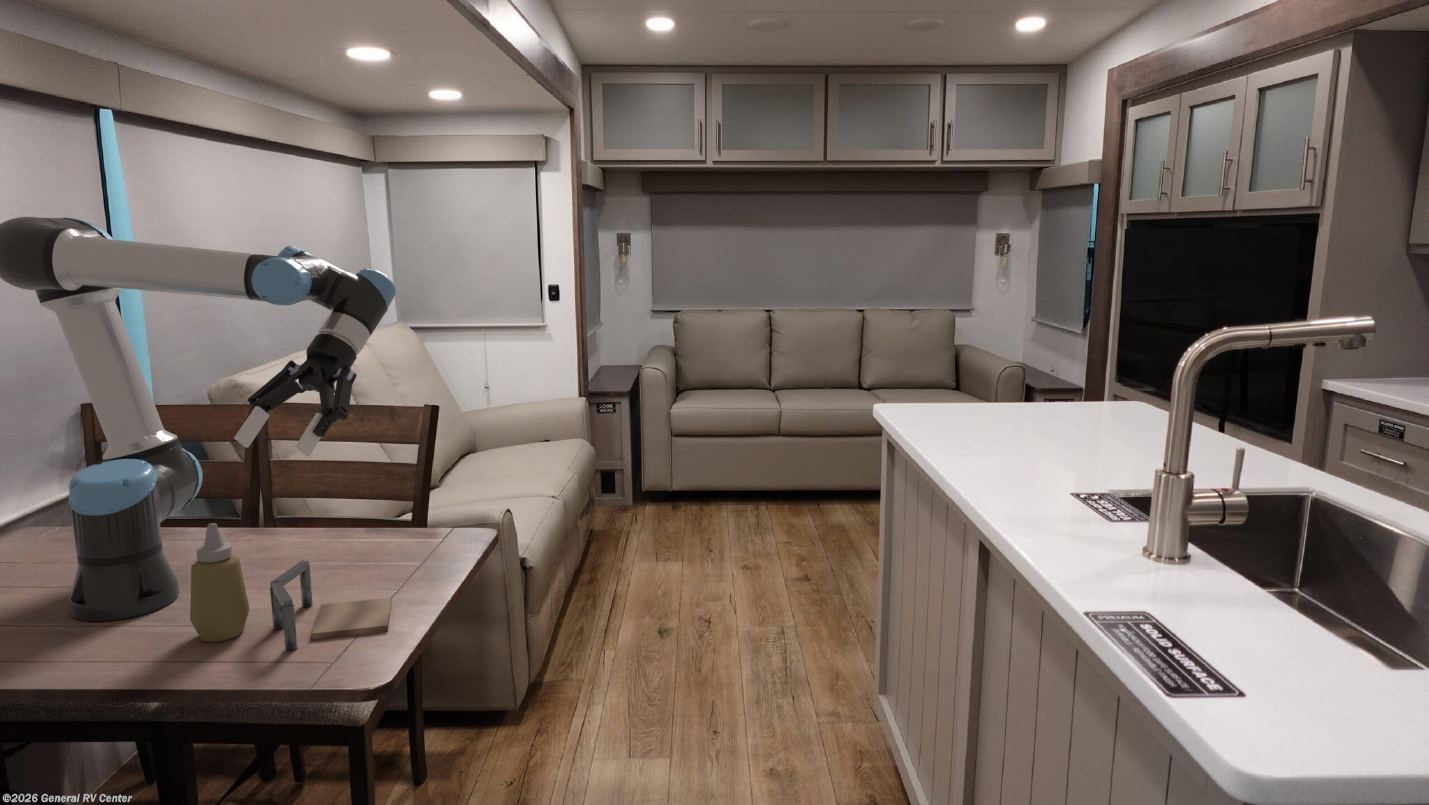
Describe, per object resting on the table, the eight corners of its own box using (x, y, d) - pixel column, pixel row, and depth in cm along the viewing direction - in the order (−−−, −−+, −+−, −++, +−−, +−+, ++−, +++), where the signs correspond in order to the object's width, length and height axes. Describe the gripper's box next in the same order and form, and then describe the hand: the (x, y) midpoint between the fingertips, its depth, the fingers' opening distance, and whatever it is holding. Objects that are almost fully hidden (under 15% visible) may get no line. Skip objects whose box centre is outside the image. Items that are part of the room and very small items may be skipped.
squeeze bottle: (263, 629, 133) (254, 521, 129) (214, 651, 125) (203, 536, 122) (229, 619, 136) (219, 513, 133) (179, 639, 129) (168, 528, 125)
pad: (311, 639, 130) (311, 633, 129) (321, 610, 140) (321, 604, 140) (387, 631, 133) (387, 625, 133) (391, 603, 143) (391, 597, 143)
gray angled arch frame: (262, 654, 125) (258, 605, 123) (283, 606, 141) (279, 561, 140) (296, 650, 126) (292, 601, 125) (313, 603, 142) (310, 559, 141)
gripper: (405, 362, 145) (343, 467, 134) (298, 354, 154) (232, 451, 143) (380, 335, 139) (313, 442, 128) (271, 327, 148) (200, 427, 137)
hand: (270, 447), depth 135 cm, fingers open, 13 cm apart
